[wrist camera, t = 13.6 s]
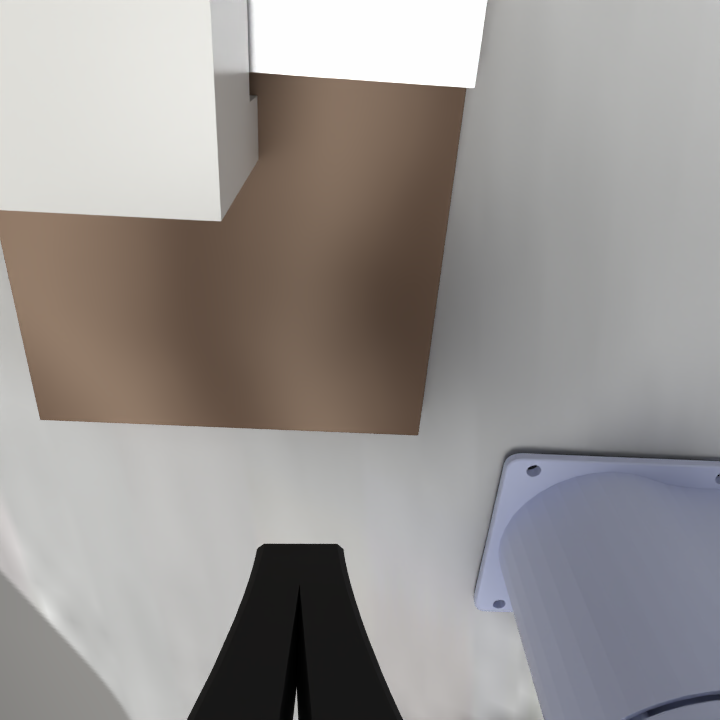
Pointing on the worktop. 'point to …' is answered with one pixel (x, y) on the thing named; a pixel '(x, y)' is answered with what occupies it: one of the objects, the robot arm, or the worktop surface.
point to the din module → (125, 107)
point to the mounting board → (257, 277)
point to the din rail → (368, 39)
